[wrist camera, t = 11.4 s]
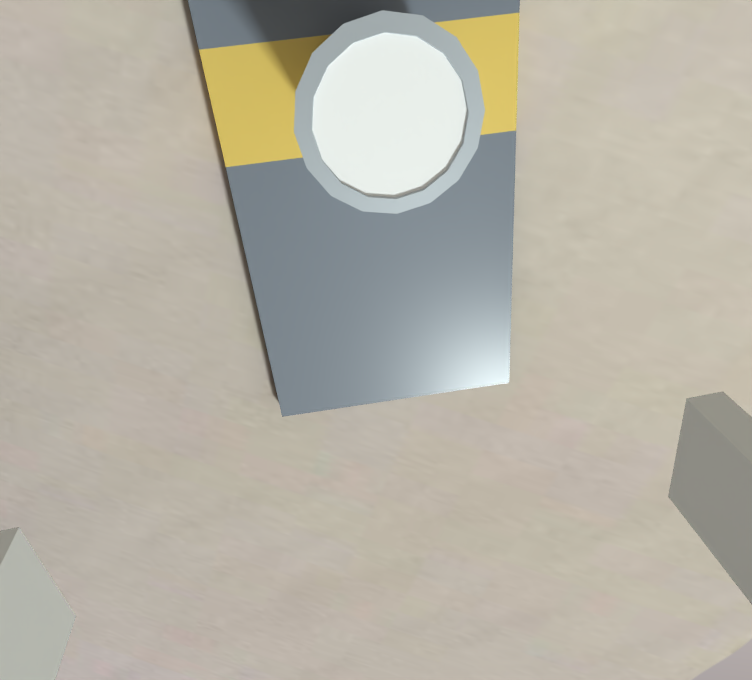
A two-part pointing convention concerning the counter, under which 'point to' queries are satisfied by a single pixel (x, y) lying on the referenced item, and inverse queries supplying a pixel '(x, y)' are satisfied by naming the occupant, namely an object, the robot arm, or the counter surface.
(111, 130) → the counter surface
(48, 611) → the robot arm
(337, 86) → the shot glass
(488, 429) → the counter surface
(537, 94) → the counter surface
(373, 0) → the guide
